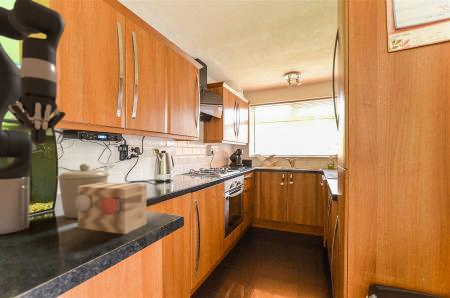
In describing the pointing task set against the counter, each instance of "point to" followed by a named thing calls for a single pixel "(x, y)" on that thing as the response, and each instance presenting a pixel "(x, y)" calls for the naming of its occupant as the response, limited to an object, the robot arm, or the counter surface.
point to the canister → (71, 183)
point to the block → (120, 220)
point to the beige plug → (83, 202)
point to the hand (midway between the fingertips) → (38, 143)
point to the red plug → (110, 205)
